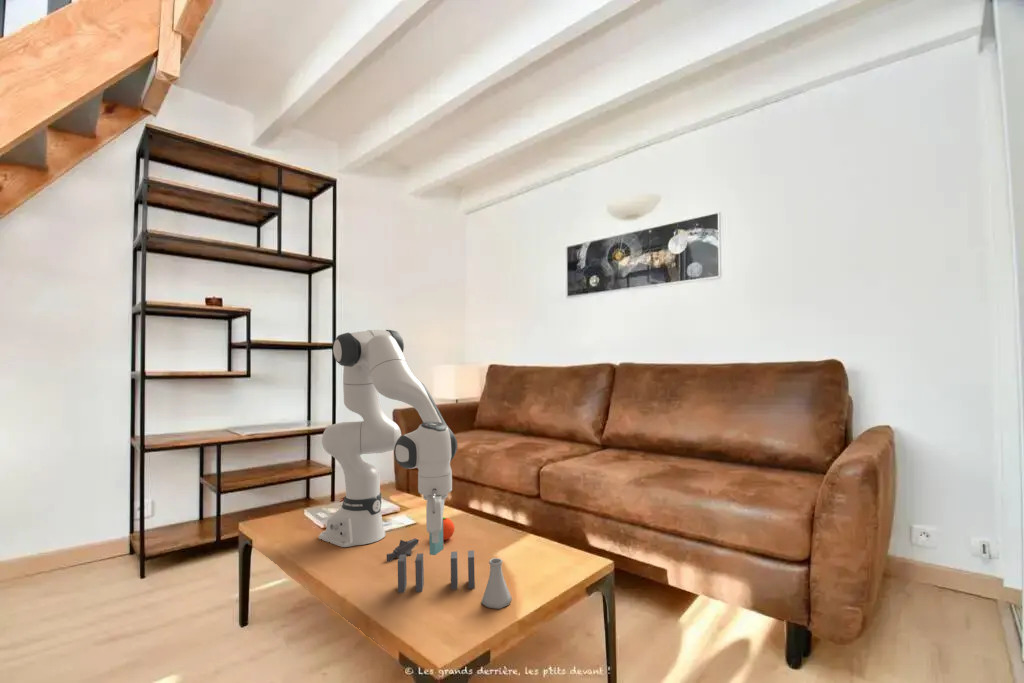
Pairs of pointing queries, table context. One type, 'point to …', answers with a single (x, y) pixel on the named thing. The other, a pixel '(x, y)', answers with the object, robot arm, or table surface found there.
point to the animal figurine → (402, 549)
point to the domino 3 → (438, 546)
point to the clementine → (447, 528)
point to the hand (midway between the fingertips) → (436, 537)
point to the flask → (496, 587)
